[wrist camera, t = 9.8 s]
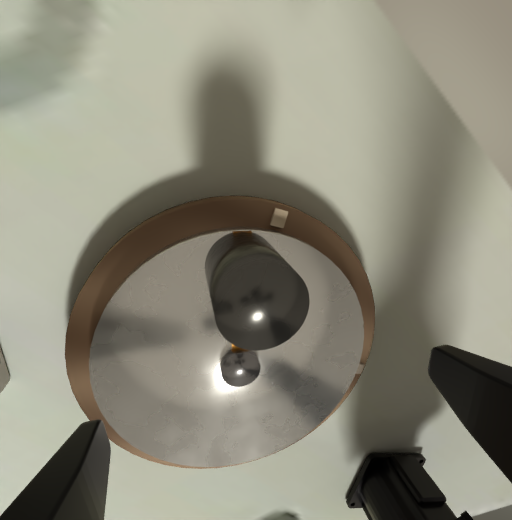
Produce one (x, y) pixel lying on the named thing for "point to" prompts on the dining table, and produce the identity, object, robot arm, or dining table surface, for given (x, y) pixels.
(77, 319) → the dial base
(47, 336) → the dining table surface
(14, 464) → the dining table surface
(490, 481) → the dining table surface
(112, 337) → the dial
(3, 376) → the coffee box
